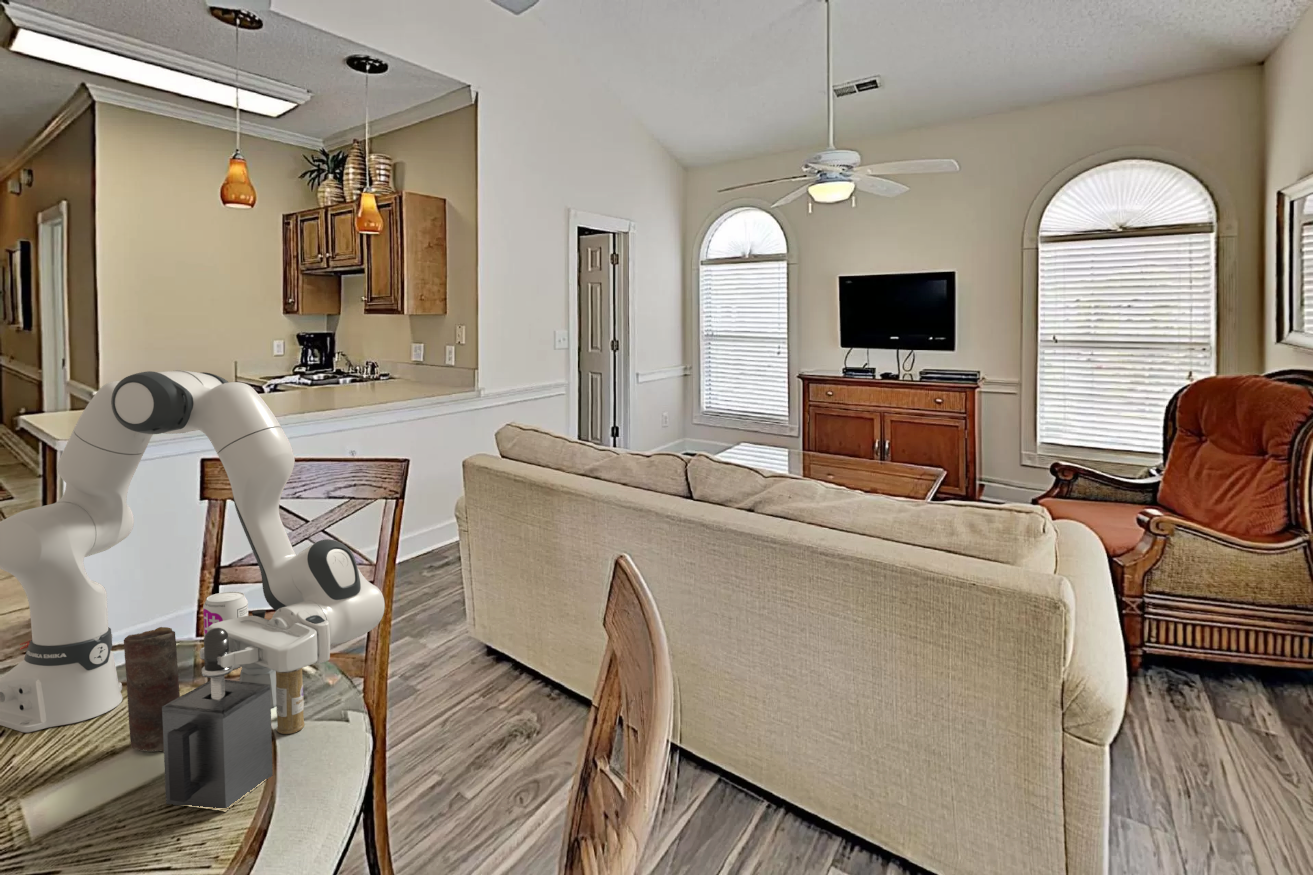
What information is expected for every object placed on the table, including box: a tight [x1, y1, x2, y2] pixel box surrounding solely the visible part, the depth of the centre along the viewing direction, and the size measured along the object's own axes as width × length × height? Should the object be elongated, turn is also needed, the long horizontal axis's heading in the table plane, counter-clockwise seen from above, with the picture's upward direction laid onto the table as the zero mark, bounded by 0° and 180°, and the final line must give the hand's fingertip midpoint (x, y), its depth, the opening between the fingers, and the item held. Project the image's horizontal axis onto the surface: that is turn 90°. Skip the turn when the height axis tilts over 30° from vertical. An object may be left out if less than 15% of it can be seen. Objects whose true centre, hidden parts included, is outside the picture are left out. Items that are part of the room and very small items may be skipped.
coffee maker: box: [239, 609, 277, 709], centre depth 143 cm, size 15×9×18 cm, turn 34°
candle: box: [123, 626, 181, 753], centre depth 125 cm, size 8×7×20 cm
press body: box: [162, 679, 274, 808], centre depth 111 cm, size 10×13×15 cm
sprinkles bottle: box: [275, 668, 306, 735], centre depth 132 cm, size 5×5×13 cm
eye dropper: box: [201, 628, 234, 701], centre depth 112 cm, size 8×8×22 cm
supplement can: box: [202, 591, 249, 670], centre depth 159 cm, size 8×8×15 cm
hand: (210, 658), depth 111 cm, fingers closed on eye dropper, 3 cm apart
